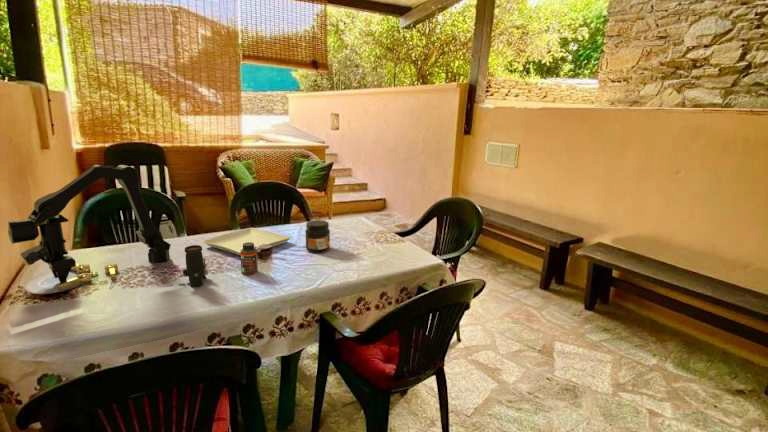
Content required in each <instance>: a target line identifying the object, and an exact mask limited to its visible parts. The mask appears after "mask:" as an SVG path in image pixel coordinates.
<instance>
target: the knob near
mask: <svg viewBox="0 0 768 432" xmlns="http://www.w3.org/2000/svg"><path fill="white" fill-rule="evenodd" d="M118 272H119V265H118V264H117V263H110V264H106V265H105V266H104V273H105V275H109V276H110V280H112V281H113V280H114V281H115V280H117V277H116V274H117V273H118Z"/></svg>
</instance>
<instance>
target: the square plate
mask: <svg viewBox="0 0 768 432" xmlns="http://www.w3.org/2000/svg"><path fill="white" fill-rule="evenodd" d="M291 238H292V237H291V236H289V235H284V234H281V233H278V232H273V231H269V230H265V229H261V228H255V227H248V228H247V227H246V228H244V229H239V230H235V231H232V232H228V233H224V234H220V235H218V236H217V235H216V236H215V237H212V238H209V239H205V240H202V243H204V244H205V245H206V246H209V247H212V248H215V249H219V250H222V251H225V252H229V253H232V254H235V255H237V256H241V254H240V251H241V250H242V249H243V244H244V243H247V242H252V243H254V246H259V245H262V244H266V245H263V246H261V247H264V246H267V245H271V246H272V248H274V247H275V248H276V247H277V246H279V245H281V244H284V243H287V242H288V241H289V240H290V239H291ZM261 247H258V248H256V250H257V251H258V250H259V249H260V248H261Z"/></svg>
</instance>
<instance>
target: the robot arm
mask: <svg viewBox="0 0 768 432" xmlns="http://www.w3.org/2000/svg"><path fill="white" fill-rule="evenodd" d="M102 178H105V179H113V180H116V181H117V182H118V184H119V185H120V186H121V188H122V189H123V190H124V191H125V193H126V196H127V198H128V201H129V203H130V206H131V209H132V211H133V214H134V215H135V218H136V221H137V223H138V226H139V228H138V229H139V230H136V231H135V234H136V235H137V237H138V242H139V241H140V242H141V243H142V244H144V245H146V246H147V248H149V249H148V253H147V259H148V262H149V263H153V264H163V263H168V261H170V260H171V261H173V260H172V258H170V257H171V256H170V249H171V247H172V246H171V244H170V243H169V242H167V241H166V240H165V239H164V237H163V236H162V234H161V232H160V230H158V228H157V227H156V226H155V224H154V223H153V221H152V217H151V215H150V213H149V211H148V208H147V206H146V203H145V201H144V198H143V195H142V192H141V190H140V176H139V173H138V171H137V169H136V168H134V167H132V166H129V165H125V164H119V165H117V166H111V165H99V164H94V165H92V166H90V167H89V169H87V170H86V171H84V172H82V174H80V175H79V176H77V177H76V178H74V179H73V180H72V181H70V182H69V183H67V184H66V185H64V186H63V187H62V188H60V189H58V190H57V191H54V192H51V193H48V194H46V195H44V196H41V197H40V198H38V199H37V200H35V202H34V203H33V210H32V212H31V213H30V214H29V216H28V217H27V219H22V220H10V221H8V222H7V224H8V226H7V227H8V230H7V233H8V237H9V241H10V243H11V244H18V243H19V244H20V243H25V242H31V241H35V240H36V239H38V237H39V236H40V239H39V241H38V242H39V244H37V245H36V246H33V247H31V248H29V249H26V250H25V251H23V252H20V254H19V255H20V256H21V257H22V259H23V260H24V261H25V262H26V264H27V265H28V266H31V265H33V264H36V262H38V261H42V262H43V263H46V264H48V266H49V267H48V268H49V270H51V273H52V275H53V277H54V279H58V280H59V283H61V282H64V281H67V280H68V278H69V277H68V276H69V275H70V272H71V271H72V270H71V268H72V267H74V266H76V264H77V262H76V260H75V258H73V256H70V255H69V252H68V250H67V248H66V243H67V239H66V238H64V237H65V236H64V231H63V225H62V223H67V222H69V219H68V218H66V217H65V216H63V214H61V213H62V212H63V210H64V209H65V208H66V207H67V206H68V204H69V203H70V202H71V201H72V200H73V199H74V198H75V197H77V196H78V195H80V194H81V193H82V192H84V191H85V190H87V189H88V188H89V187H90V186H92V185H94V184H95V183H96V182H97V181H99V180H100V179H102Z"/></svg>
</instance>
